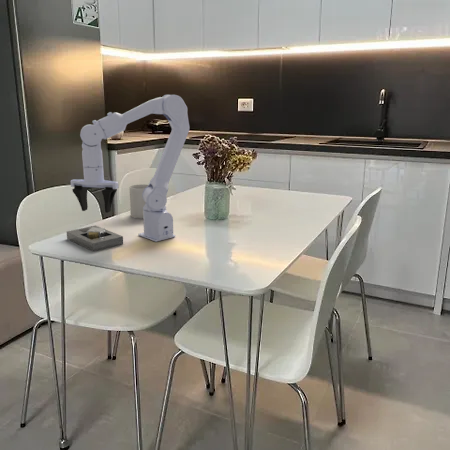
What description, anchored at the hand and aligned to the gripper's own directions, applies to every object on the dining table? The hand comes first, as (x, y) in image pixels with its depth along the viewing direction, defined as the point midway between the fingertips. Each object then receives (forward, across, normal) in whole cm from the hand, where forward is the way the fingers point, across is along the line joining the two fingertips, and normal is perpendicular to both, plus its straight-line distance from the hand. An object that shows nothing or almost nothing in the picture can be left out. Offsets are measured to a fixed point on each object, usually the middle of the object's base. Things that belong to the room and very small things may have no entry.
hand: (96, 211), depth 138 cm
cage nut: (+10, 0, +1) cm, 10 cm away
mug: (+10, -3, -31) cm, 32 cm away
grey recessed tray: (+9, +1, +1) cm, 9 cm away
